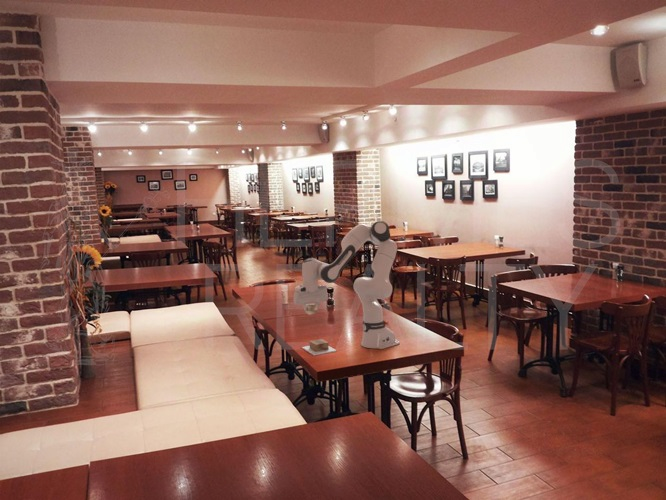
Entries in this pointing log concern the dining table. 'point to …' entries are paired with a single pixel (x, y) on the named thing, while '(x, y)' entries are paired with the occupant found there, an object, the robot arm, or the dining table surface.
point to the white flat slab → (318, 351)
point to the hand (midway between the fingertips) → (311, 310)
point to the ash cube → (311, 309)
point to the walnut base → (319, 345)
